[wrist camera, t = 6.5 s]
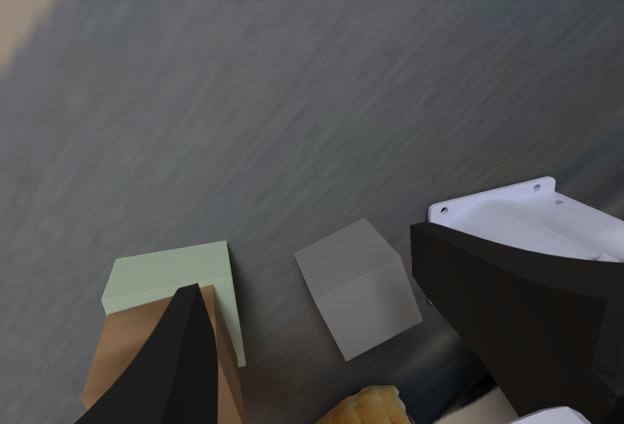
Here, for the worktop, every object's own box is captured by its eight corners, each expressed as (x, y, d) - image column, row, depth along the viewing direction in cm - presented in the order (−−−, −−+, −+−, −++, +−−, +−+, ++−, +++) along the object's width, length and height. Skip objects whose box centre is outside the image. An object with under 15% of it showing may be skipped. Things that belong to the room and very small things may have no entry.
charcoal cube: (363, 217, 25) (399, 255, 20) (386, 274, 27) (422, 320, 23) (293, 253, 25) (314, 300, 20) (321, 308, 27) (346, 361, 22)
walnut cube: (212, 284, 20) (217, 356, 15) (237, 357, 22) (247, 438, 17) (107, 314, 19) (80, 399, 14) (144, 387, 21) (130, 480, 16)
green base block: (226, 239, 23) (231, 275, 20) (239, 320, 26) (246, 365, 22) (116, 257, 22) (101, 299, 18) (141, 340, 24) (132, 392, 21)
